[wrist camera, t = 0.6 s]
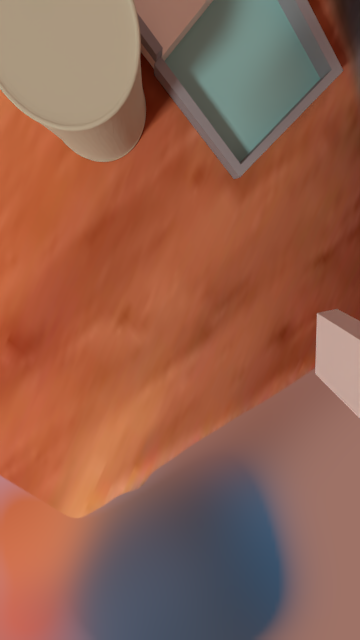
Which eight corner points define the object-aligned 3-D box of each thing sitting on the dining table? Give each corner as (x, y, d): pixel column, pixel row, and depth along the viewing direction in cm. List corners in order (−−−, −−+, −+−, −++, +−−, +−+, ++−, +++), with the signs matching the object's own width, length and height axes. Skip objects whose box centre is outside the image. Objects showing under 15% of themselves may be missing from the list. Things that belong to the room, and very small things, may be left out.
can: (114, 20, 23) (79, -151, 12) (162, 134, 27) (169, 82, 16) (25, 75, 24) (-84, -40, 13) (83, 178, 28) (37, 158, 16)
